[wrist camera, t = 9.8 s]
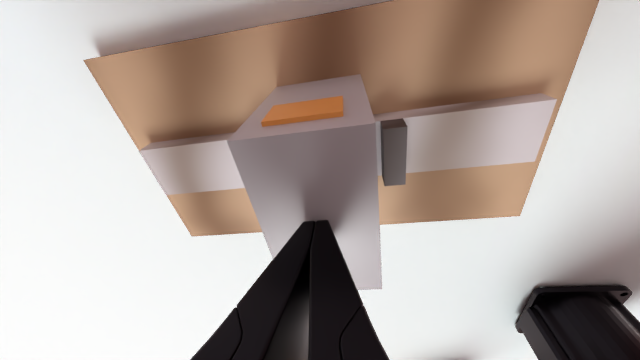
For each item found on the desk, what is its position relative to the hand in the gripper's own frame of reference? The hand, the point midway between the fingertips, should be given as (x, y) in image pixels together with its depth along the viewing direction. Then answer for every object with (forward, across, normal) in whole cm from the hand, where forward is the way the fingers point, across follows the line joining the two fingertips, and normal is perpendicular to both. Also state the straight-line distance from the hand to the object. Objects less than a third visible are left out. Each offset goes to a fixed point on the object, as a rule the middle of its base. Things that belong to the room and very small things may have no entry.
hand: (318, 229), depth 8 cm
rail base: (+7, 0, 0) cm, 7 cm away
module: (+6, 0, 0) cm, 6 cm away
